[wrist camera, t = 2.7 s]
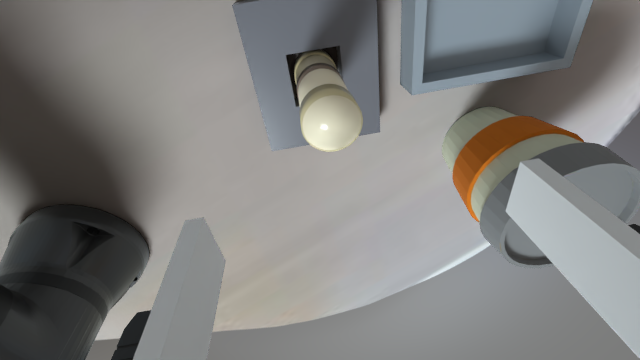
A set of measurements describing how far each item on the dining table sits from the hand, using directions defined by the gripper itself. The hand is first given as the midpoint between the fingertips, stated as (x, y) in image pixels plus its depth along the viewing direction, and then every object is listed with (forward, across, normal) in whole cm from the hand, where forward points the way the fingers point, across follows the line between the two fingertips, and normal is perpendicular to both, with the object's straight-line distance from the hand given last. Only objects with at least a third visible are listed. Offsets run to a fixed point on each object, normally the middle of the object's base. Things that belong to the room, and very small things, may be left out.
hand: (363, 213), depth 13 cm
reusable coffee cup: (+22, -19, +12) cm, 32 cm away
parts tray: (+22, -17, -4) cm, 28 cm away
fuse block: (+22, 0, 0) cm, 22 cm away
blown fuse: (+22, 0, 0) cm, 22 cm away
